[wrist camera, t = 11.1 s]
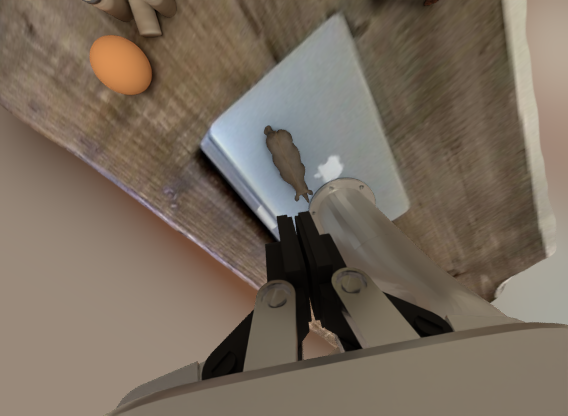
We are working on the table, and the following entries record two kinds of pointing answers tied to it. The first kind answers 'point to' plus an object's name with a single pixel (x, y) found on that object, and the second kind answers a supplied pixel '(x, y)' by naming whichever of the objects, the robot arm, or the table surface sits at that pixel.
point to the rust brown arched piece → (430, 2)
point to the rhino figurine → (287, 160)
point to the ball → (120, 65)
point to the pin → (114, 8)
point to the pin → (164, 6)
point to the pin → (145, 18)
